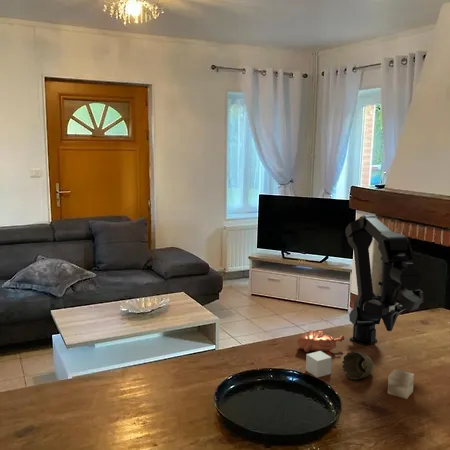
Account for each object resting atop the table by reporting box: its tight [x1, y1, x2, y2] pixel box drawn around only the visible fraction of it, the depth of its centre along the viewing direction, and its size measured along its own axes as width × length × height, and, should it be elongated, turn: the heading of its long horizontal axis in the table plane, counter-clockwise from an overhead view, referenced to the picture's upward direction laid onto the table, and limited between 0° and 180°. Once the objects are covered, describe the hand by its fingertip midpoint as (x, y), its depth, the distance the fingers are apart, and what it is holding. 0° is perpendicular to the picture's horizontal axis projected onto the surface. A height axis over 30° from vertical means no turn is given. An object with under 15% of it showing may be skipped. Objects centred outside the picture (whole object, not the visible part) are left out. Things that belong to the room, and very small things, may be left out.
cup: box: [341, 350, 374, 381], centre depth 139 cm, size 8×7×8 cm
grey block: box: [305, 351, 333, 378], centre depth 141 cm, size 5×5×5 cm
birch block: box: [386, 368, 415, 400], centre depth 130 cm, size 5×5×5 cm
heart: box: [296, 329, 345, 357], centre depth 157 cm, size 6×12×15 cm
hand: (389, 330), depth 145 cm, fingers closed
